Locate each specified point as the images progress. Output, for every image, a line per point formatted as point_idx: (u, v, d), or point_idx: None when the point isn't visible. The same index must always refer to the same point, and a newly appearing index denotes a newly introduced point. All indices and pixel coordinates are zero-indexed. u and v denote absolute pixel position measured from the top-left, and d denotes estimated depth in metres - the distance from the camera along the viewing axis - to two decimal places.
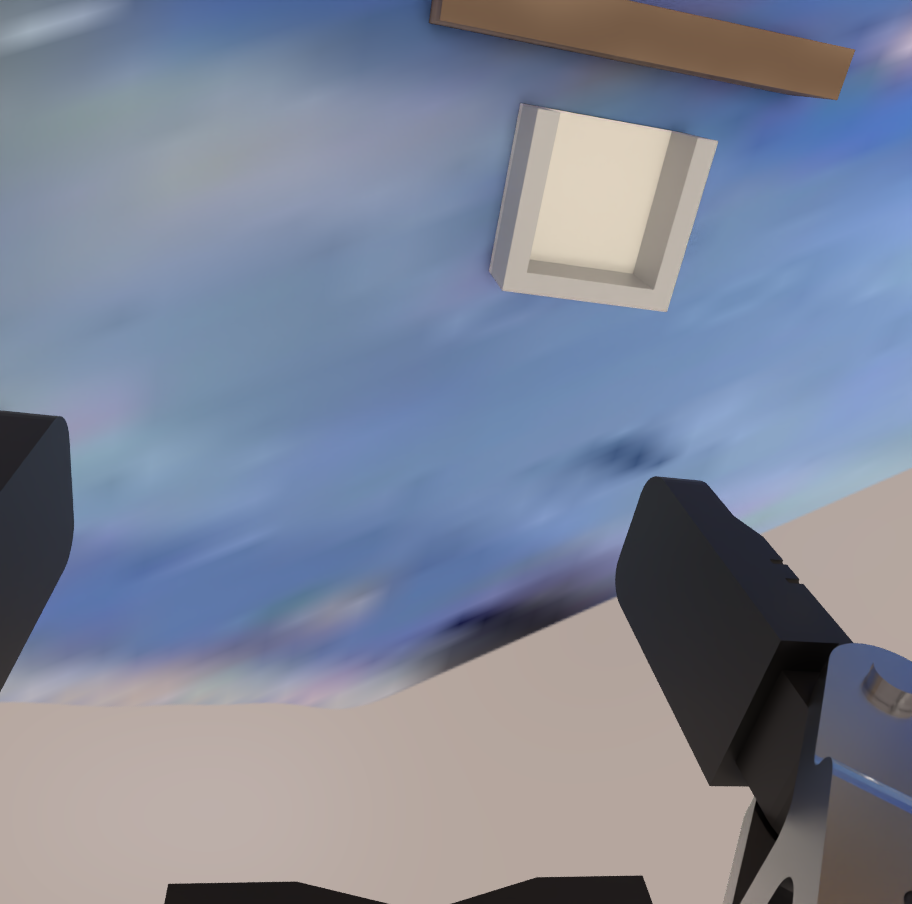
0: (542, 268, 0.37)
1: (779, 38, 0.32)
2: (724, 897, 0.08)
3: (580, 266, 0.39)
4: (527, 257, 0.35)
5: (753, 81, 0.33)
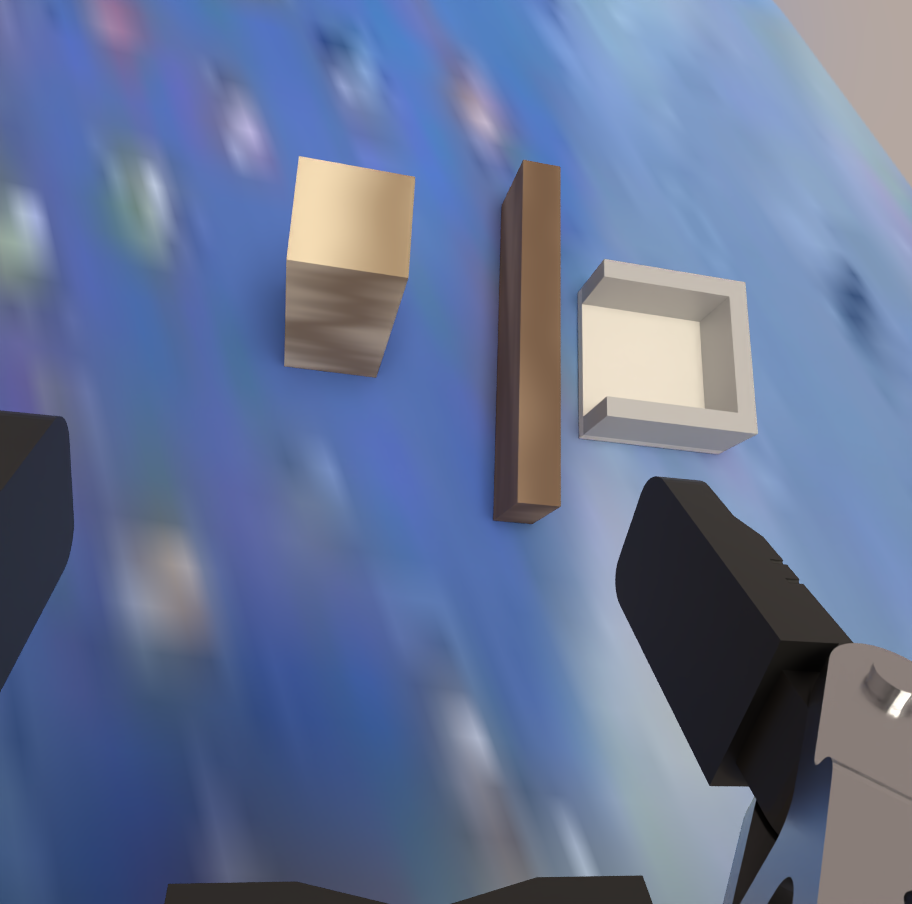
0: (721, 401, 0.39)
1: (525, 221, 0.38)
2: (724, 897, 0.08)
3: (702, 369, 0.41)
4: (725, 413, 0.37)
5: (559, 236, 0.38)
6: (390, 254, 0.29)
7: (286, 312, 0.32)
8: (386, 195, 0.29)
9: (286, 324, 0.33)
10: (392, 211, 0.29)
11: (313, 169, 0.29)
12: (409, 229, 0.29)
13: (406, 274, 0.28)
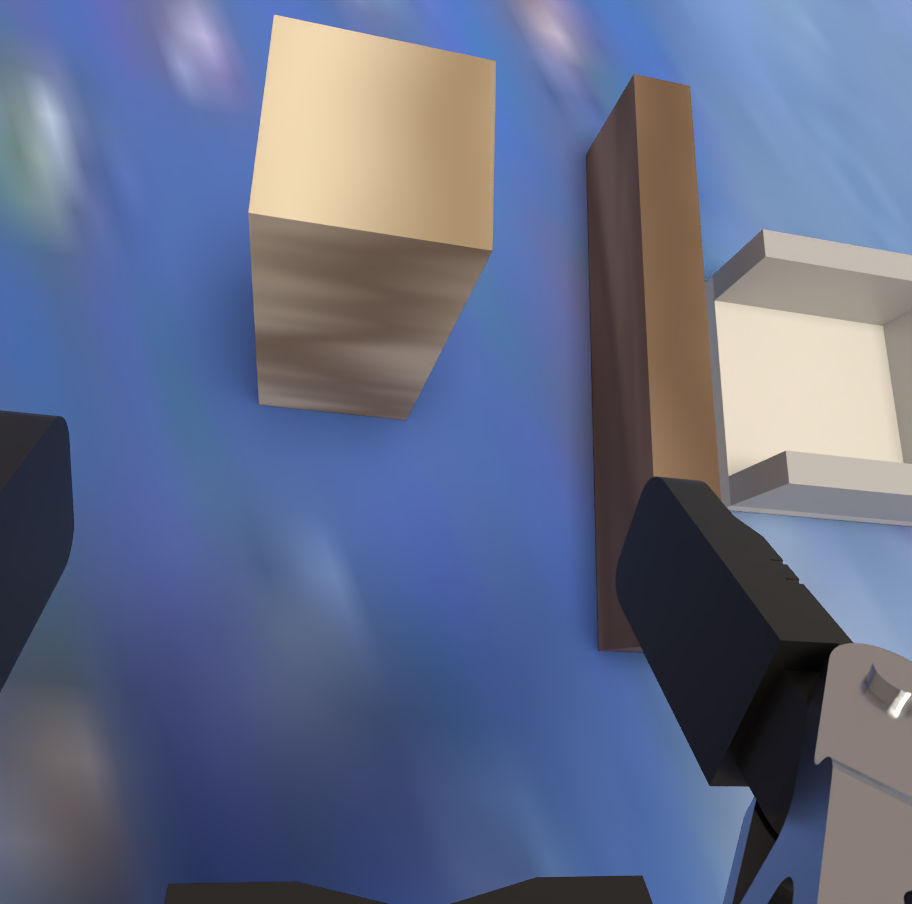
0: None
1: (644, 168, 0.23)
2: (724, 897, 0.08)
3: (895, 398, 0.27)
4: None
5: (696, 193, 0.24)
6: (457, 205, 0.14)
7: (256, 319, 0.17)
8: (444, 93, 0.15)
9: (257, 340, 0.18)
10: (457, 123, 0.15)
11: (302, 40, 0.15)
12: (490, 157, 0.15)
13: (488, 243, 0.14)
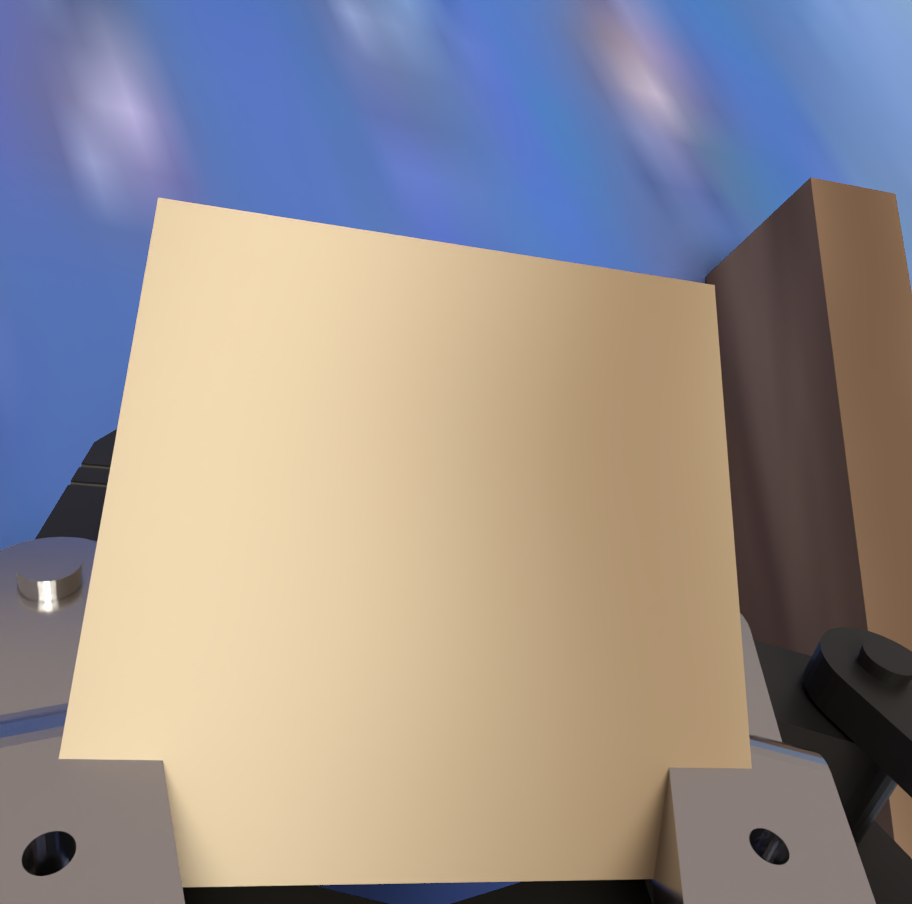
0: None
1: (840, 340, 0.14)
2: None
3: None
4: None
5: None
6: (656, 736, 0.05)
7: None
8: (600, 387, 0.06)
9: None
10: (640, 472, 0.06)
11: (233, 267, 0.06)
12: (725, 565, 0.06)
13: None
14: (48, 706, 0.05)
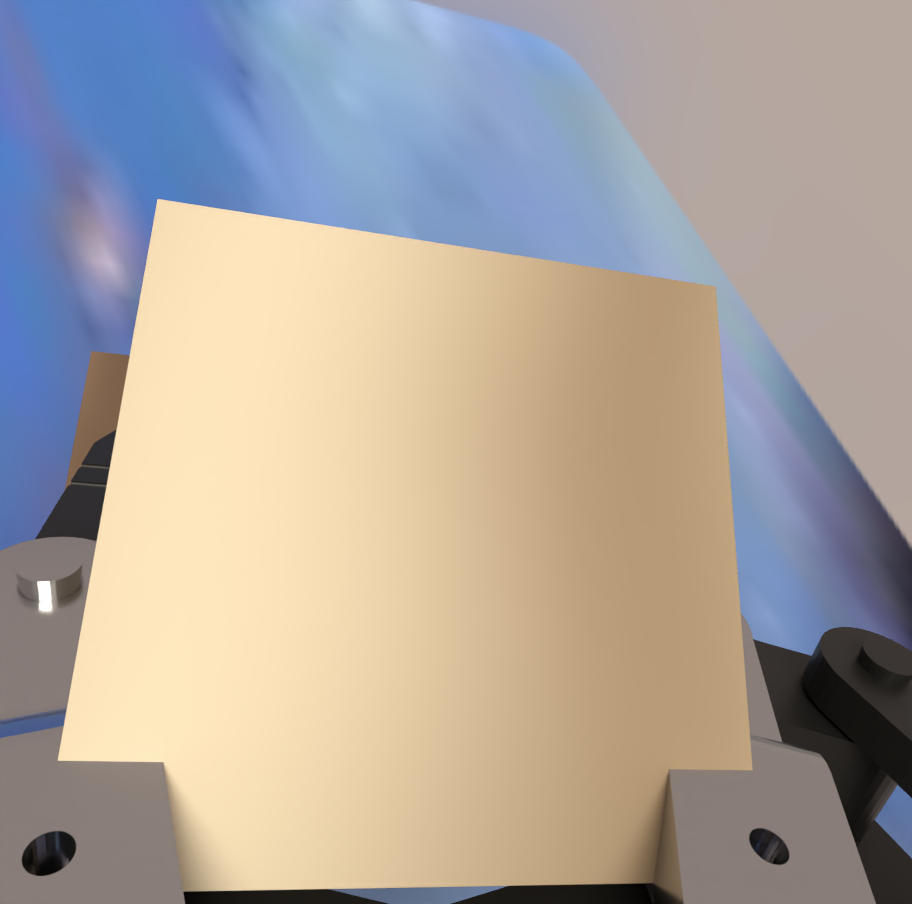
0: None
1: (77, 456, 0.24)
2: None
3: None
4: None
5: None
6: (656, 739, 0.05)
7: None
8: (601, 389, 0.06)
9: None
10: (641, 475, 0.06)
11: (231, 269, 0.05)
12: (726, 568, 0.06)
13: None
14: (48, 706, 0.05)
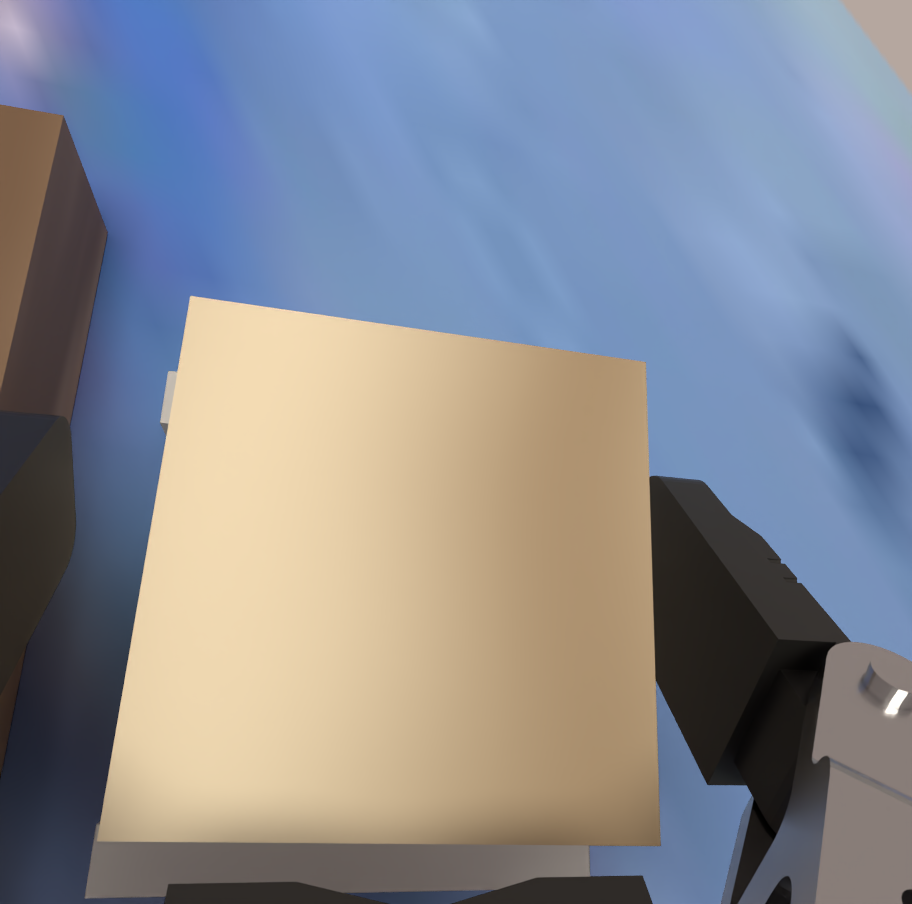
0: None
1: None
2: (722, 896, 0.08)
3: None
4: None
5: (14, 313, 0.13)
6: (581, 734, 0.07)
7: None
8: (546, 449, 0.07)
9: None
10: (575, 519, 0.07)
11: (249, 353, 0.07)
12: (644, 596, 0.07)
13: (650, 826, 0.06)
14: None
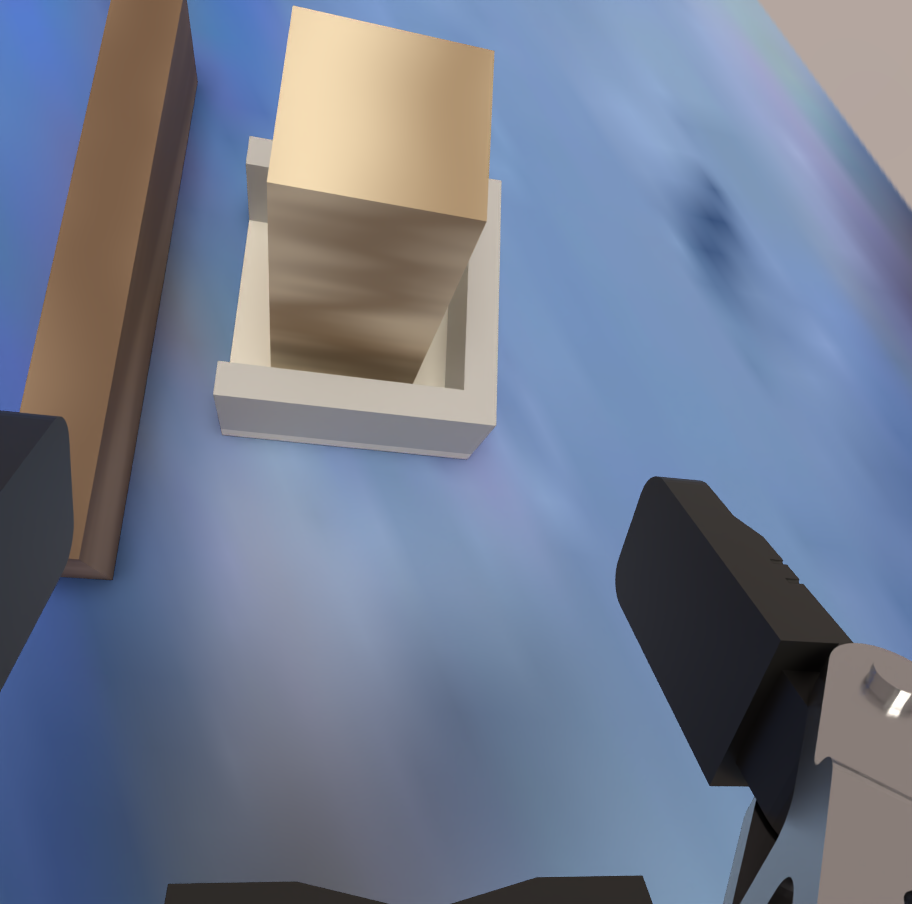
0: (455, 372, 0.24)
1: (102, 67, 0.22)
2: (724, 897, 0.08)
3: (447, 324, 0.26)
4: (441, 391, 0.22)
5: (162, 95, 0.22)
6: (455, 179, 0.16)
7: (270, 286, 0.19)
8: (446, 78, 0.17)
9: (271, 307, 0.20)
10: (457, 106, 0.16)
11: (317, 29, 0.16)
12: (486, 137, 0.16)
13: (483, 215, 0.16)
14: None
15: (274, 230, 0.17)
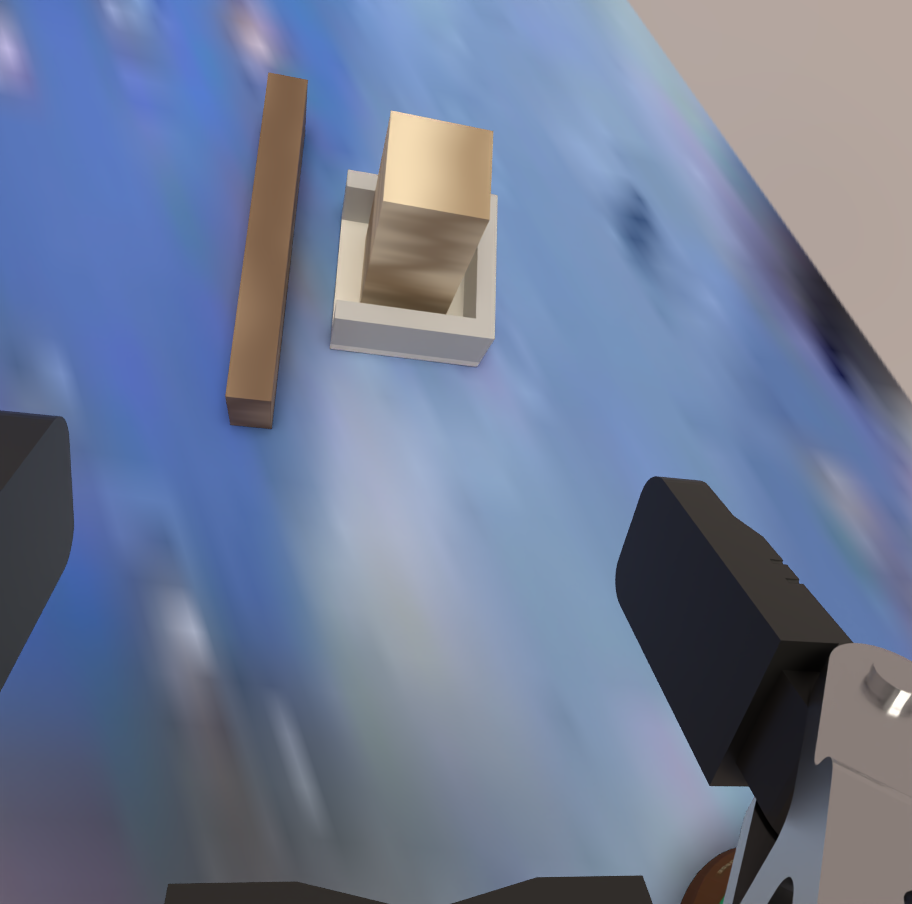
0: (470, 311, 0.40)
1: (264, 130, 0.38)
2: (724, 897, 0.08)
3: (464, 284, 0.42)
4: (462, 318, 0.38)
5: (298, 146, 0.38)
6: (474, 198, 0.32)
7: (371, 255, 0.35)
8: (468, 146, 0.32)
9: (369, 268, 0.36)
10: (474, 161, 0.32)
11: (403, 122, 0.32)
12: (489, 177, 0.32)
13: (487, 216, 0.32)
14: None
15: (381, 224, 0.32)
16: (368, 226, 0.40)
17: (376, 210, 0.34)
